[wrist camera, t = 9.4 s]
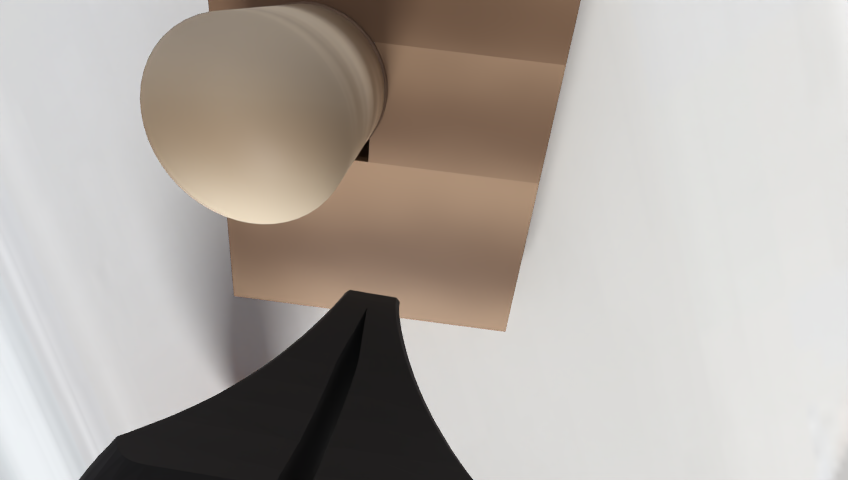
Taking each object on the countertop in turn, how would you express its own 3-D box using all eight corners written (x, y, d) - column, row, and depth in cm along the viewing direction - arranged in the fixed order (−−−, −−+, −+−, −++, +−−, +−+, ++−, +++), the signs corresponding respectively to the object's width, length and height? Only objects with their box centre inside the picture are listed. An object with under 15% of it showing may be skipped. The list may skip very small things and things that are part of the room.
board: (240, -70, 18) (201, -80, 15) (569, -31, 18) (588, -35, 15) (259, 262, 24) (234, 295, 22) (500, 293, 24) (505, 331, 21)
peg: (263, -10, 18) (122, -9, 11) (403, 10, 18) (361, 26, 11) (266, 129, 21) (152, 210, 13) (390, 148, 21) (347, 239, 13)
